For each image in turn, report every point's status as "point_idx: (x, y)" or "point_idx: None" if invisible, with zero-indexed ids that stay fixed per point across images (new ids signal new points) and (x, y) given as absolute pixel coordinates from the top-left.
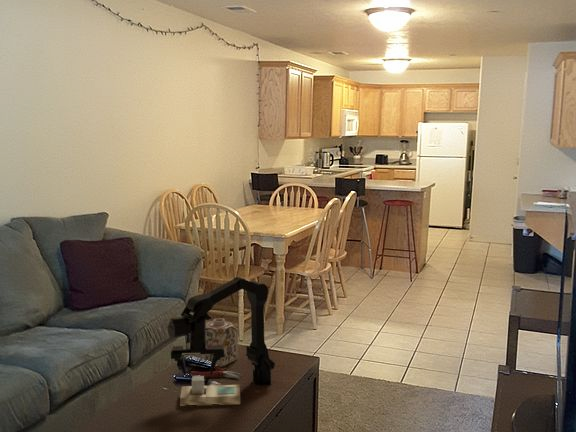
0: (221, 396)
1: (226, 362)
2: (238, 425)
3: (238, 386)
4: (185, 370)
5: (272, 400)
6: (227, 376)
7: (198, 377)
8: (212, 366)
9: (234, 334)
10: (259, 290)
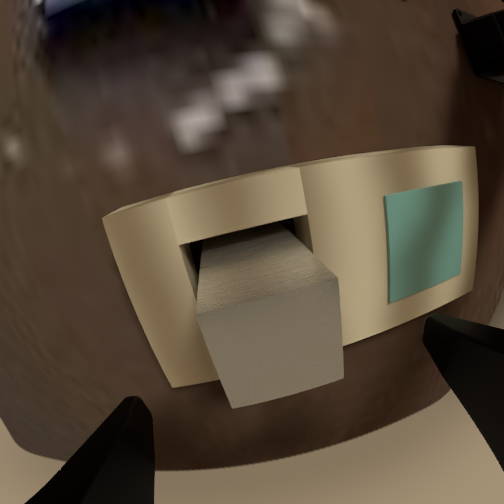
0: (405, 321)
1: None
2: (416, 406)
3: (473, 172)
4: (140, 460)
5: None
6: None
7: (281, 335)
8: (488, 424)
9: None
10: None
